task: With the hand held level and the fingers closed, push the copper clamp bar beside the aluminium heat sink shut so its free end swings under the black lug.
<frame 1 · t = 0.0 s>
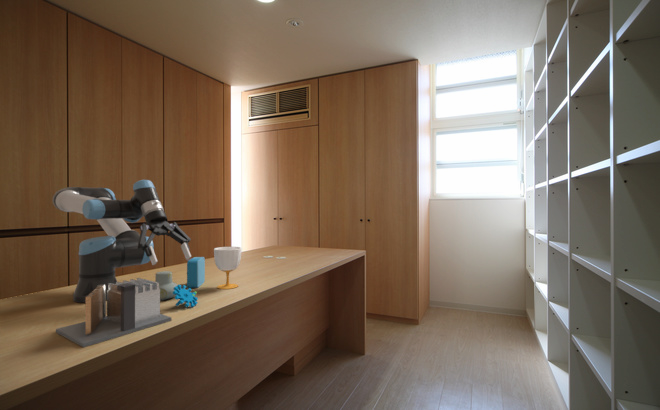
hand: (172, 260, 128), 15 cm above the worktop, tool tilted 35°, fingers open, 13 cm apart
cup: (227, 287, 151), on the worktop
clamp bar: (95, 307, 99), point 6 cm above the worktop, hinge at 35.0°
cooler board: (116, 326, 102), on the worktop
air freshener: (163, 298, 132), on the worktop
gear: (186, 306, 123), on the worktop
heat sink: (133, 321, 106), resting on cooler board
data package: (196, 285, 153), on the worktop
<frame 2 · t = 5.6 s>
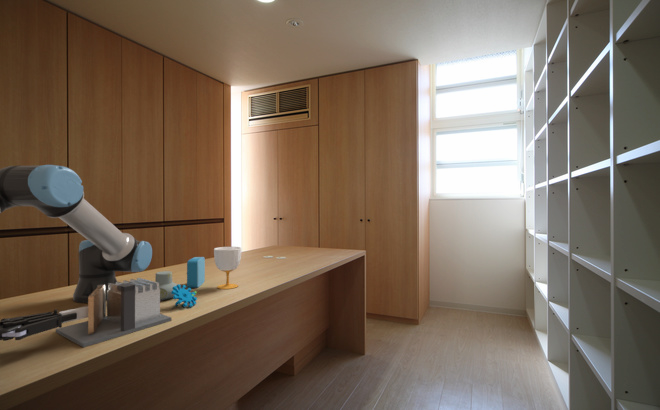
hand: (88, 311, 94), 7 cm above the worktop, tool horizontal, fingers closed
clamp bar: (97, 307, 99), point 6 cm above the worktop, hinge at 32.5°, touching gripper
everything else where it was.
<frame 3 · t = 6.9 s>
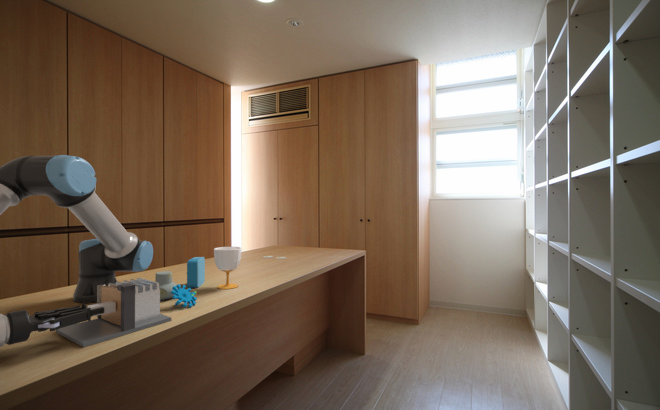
hand: (113, 306, 100), 7 cm above the worktop, tool horizontal, fingers closed, pressing on clamp bar
clamp bar: (112, 304, 102), point 6 cm above the worktop, hinge at -1.2°, touching gripper
everything else where it was.
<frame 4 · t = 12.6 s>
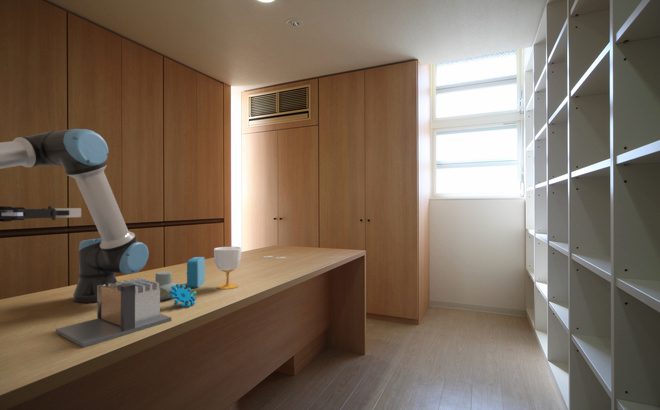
hand: (79, 212, 103), 34 cm above the worktop, tool horizontal, fingers closed
clamp bar: (112, 304, 102), point 7 cm above the worktop, hinge at -1.4°, touching heat sink
at the end: clamp bar at -1° (first picture: +35°) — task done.
